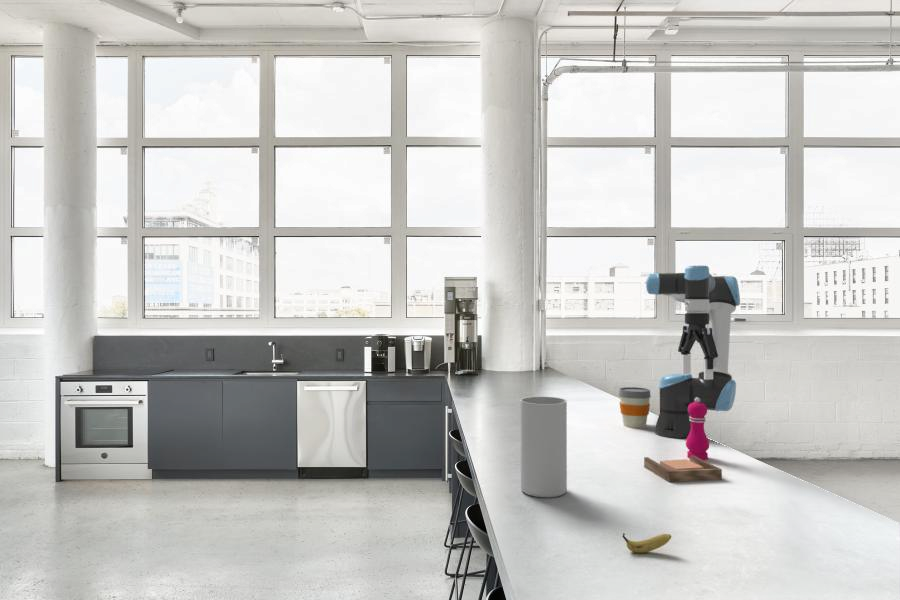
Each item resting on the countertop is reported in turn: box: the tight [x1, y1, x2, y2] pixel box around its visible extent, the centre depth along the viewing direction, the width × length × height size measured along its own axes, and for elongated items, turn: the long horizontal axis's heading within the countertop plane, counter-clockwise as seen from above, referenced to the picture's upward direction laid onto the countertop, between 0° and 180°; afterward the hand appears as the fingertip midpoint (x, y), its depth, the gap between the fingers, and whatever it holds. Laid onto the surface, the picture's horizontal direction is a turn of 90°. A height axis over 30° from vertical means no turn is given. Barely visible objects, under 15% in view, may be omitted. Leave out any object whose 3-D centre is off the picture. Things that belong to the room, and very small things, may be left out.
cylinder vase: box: [520, 396, 568, 499], centre depth 168 cm, size 12×12×25 cm
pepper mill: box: [685, 397, 710, 461], centre depth 201 cm, size 7×7×20 cm
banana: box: [621, 532, 672, 554], centre depth 127 cm, size 10×2×4 cm, turn 87°
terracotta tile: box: [659, 458, 703, 470], centre depth 185 cm, size 9×9×3 cm
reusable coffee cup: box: [618, 386, 652, 429], centre depth 252 cm, size 13×12×15 cm
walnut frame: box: [643, 455, 723, 483], centre depth 184 cm, size 16×16×3 cm
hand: (697, 376), depth 202 cm, fingers open, 13 cm apart
